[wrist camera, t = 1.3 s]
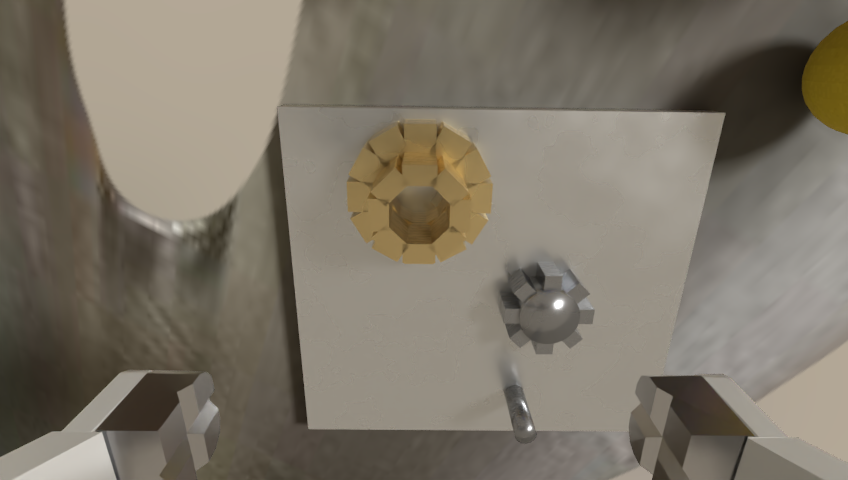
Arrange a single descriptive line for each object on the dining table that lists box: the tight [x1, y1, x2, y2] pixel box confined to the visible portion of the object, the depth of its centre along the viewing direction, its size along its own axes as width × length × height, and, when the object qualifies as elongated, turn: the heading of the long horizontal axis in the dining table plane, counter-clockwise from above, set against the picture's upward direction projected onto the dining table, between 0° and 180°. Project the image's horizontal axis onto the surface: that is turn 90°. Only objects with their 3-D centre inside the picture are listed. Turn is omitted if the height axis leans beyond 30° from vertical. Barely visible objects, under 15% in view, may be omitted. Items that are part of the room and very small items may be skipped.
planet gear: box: [347, 119, 493, 264], centre depth 22 cm, size 7×7×5 cm
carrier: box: [277, 105, 726, 443], centre depth 25 cm, size 22×20×5 cm
